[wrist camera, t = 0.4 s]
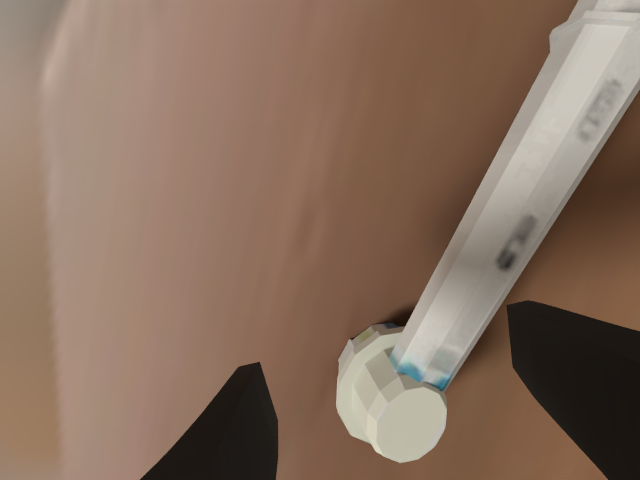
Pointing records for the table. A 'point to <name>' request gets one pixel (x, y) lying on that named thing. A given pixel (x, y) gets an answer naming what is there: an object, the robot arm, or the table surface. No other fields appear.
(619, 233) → the table surface
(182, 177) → the table surface
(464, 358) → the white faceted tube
